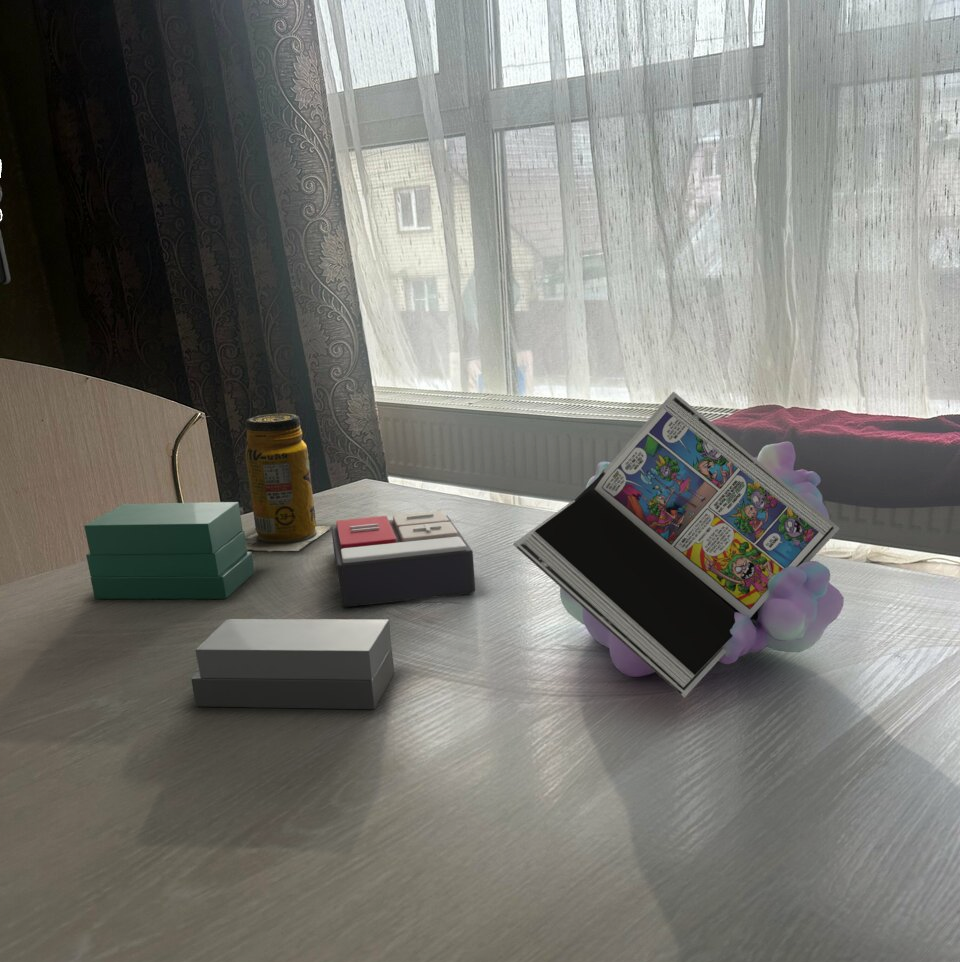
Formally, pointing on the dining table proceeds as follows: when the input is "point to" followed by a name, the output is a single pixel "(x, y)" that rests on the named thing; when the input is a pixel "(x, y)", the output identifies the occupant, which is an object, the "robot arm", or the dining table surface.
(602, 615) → the comic strip frame
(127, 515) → the slim green book
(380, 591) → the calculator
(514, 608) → the dining table surface
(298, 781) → the dining table surface
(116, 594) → the green books
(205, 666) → the grey books
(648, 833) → the dining table surface
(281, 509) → the condiment
